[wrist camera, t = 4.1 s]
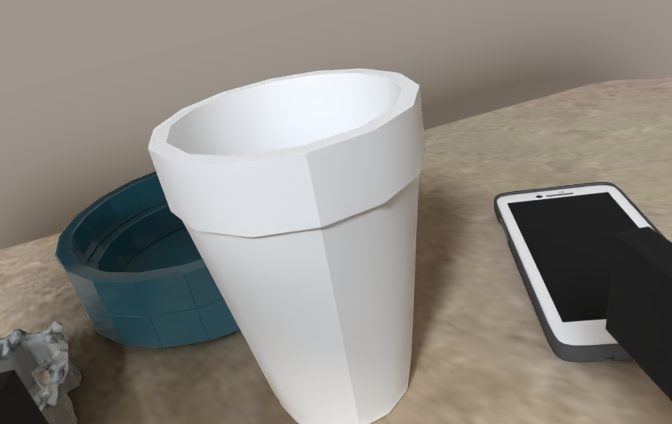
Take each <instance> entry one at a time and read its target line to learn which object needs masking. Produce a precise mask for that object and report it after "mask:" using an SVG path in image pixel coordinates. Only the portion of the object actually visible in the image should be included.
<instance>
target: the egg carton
mask: <svg viewBox="0 0 672 424" xmlns="http://www.w3.org/2000/svg"><path fill="white" fill-rule="evenodd" d="M67 341H69V337H68V336H67V335H66V333H65V332H64V330H63V328H62V324H61V323H59V322H56V321H54V322H51V323H49V324H48V329H47V330H46V331H42V332H39V333H27V332H25V331H23V330H21V329H16V330H14V331H13V333H12V334H10V335H9V336H7V337H5V338H0V373H1V372H5V371H10V370H15V371H16V373H17V374H18V376H19V377H20V379H21V381H22V382H23V384H24V385H25V387H26V389H27V390H28V392H29V393H30V395H31V396H32V398H33V400H34V401H35V403H36V404H37V406H38V407H39V409H40V411H41V412H42V414H43V415H44V417H45V418H46V420H47V422H48V423H49V424H77V417H76V416H75V415H74V410H73V405H72V401H71V399H70V398H69V397H68V394H67V393H68V392H70V391H71V390H73V389H74V388H76V387H77V386H79V385H80V382H81V378H82V376H81V374H80V372H79V370H78V368H77V367H76V366H75V365H74V364H73V363H72V362H71V360H70V358H69V356H68V344H67Z"/></svg>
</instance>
